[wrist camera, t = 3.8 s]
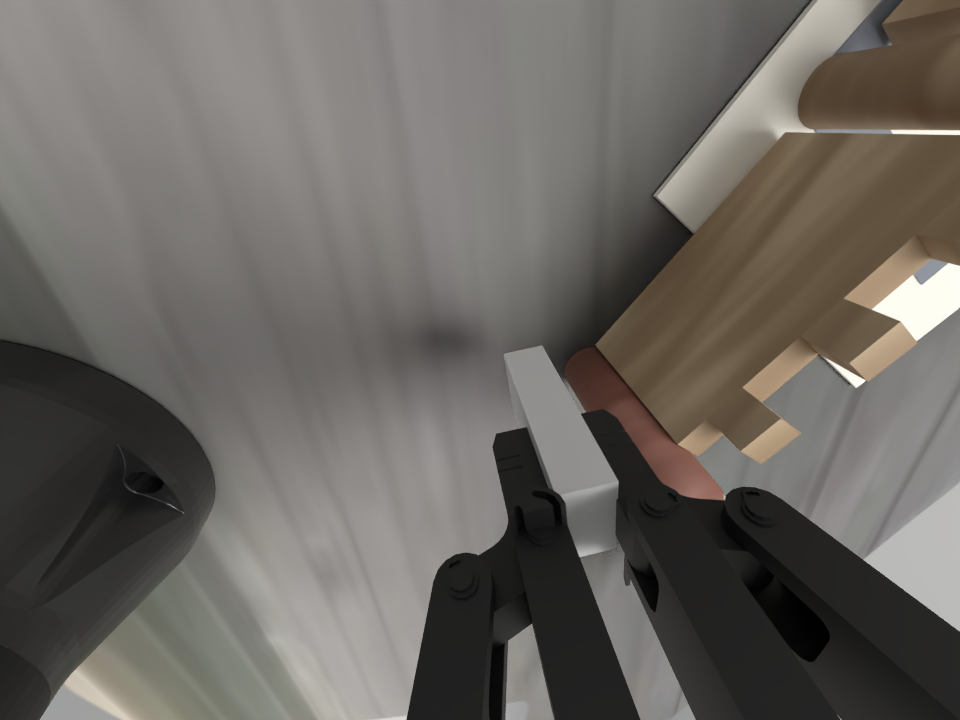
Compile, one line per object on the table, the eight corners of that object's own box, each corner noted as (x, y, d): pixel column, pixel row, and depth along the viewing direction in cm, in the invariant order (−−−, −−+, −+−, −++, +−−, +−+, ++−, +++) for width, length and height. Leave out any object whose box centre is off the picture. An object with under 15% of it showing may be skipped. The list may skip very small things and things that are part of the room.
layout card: (653, 195, 16) (658, 197, 16) (1216, -496, 9) (1246, -519, 9) (851, 385, 24) (857, 389, 24) (1232, 85, 17) (1249, 85, 17)
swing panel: (555, 375, 19) (637, 520, 12) (777, 121, 15) (1123, 117, 8) (588, 393, 20) (681, 538, 13) (806, 161, 16) (1138, 191, 8)
